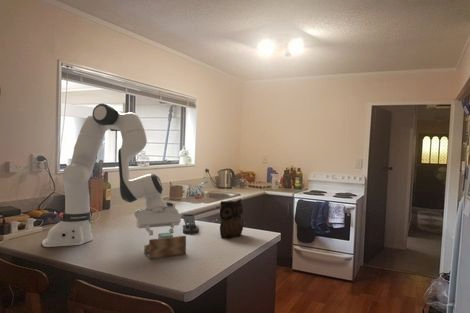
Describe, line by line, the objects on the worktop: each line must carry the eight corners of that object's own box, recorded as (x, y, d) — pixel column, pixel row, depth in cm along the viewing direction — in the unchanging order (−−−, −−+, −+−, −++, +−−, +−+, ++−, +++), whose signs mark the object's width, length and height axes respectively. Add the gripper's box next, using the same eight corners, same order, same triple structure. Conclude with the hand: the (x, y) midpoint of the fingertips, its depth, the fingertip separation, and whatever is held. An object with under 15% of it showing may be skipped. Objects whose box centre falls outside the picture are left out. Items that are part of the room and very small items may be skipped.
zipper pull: (195, 213, 212) (199, 222, 188) (195, 224, 212) (199, 234, 188) (180, 213, 210) (183, 222, 186) (180, 224, 210) (183, 234, 186)
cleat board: (150, 259, 144) (150, 240, 144) (144, 253, 152) (144, 235, 152) (185, 254, 152) (186, 236, 152) (178, 248, 160) (178, 231, 160)
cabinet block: (161, 254, 148) (161, 236, 148) (157, 251, 153) (157, 233, 153) (172, 253, 151) (172, 235, 150) (168, 249, 155) (168, 232, 155)
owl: (244, 234, 188) (244, 198, 187) (238, 240, 176) (239, 201, 175) (222, 232, 191) (222, 197, 191) (215, 238, 179) (215, 200, 178)
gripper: (135, 205, 155) (139, 232, 147) (178, 203, 165) (184, 228, 157) (132, 213, 159) (137, 239, 151) (174, 211, 169) (181, 235, 161)
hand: (161, 233), depth 154 cm, fingers open, 8 cm apart
